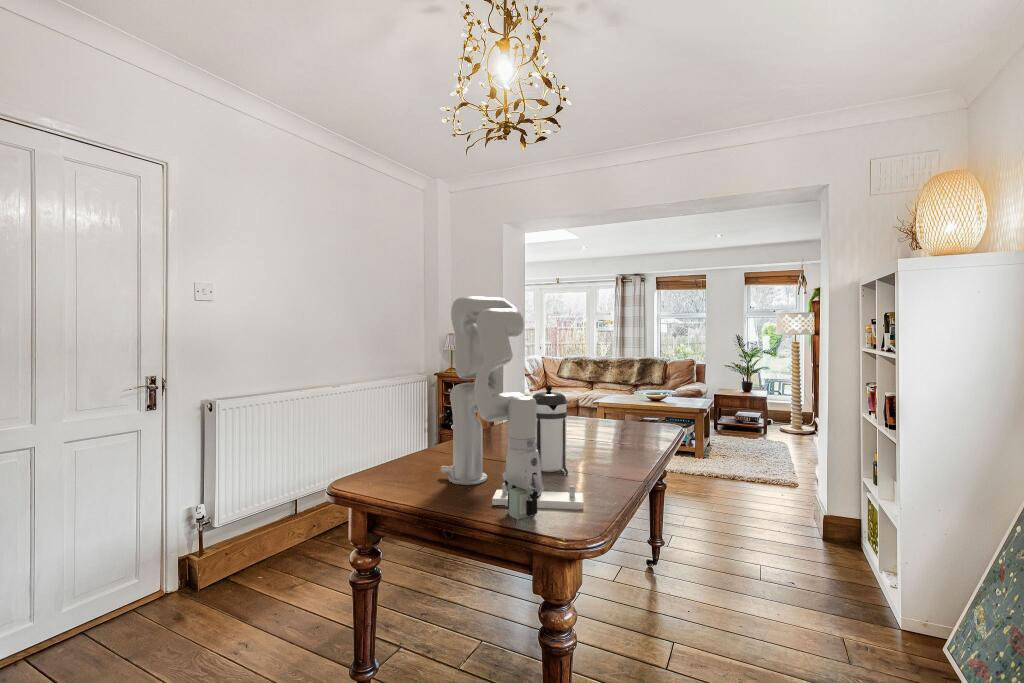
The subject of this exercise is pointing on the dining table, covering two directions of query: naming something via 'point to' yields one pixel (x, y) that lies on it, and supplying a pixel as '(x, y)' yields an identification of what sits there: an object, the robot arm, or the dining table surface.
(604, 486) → the dining table surface
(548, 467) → the coffee press
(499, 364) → the robot arm
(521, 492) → the tall sage green block
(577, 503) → the white peg board
